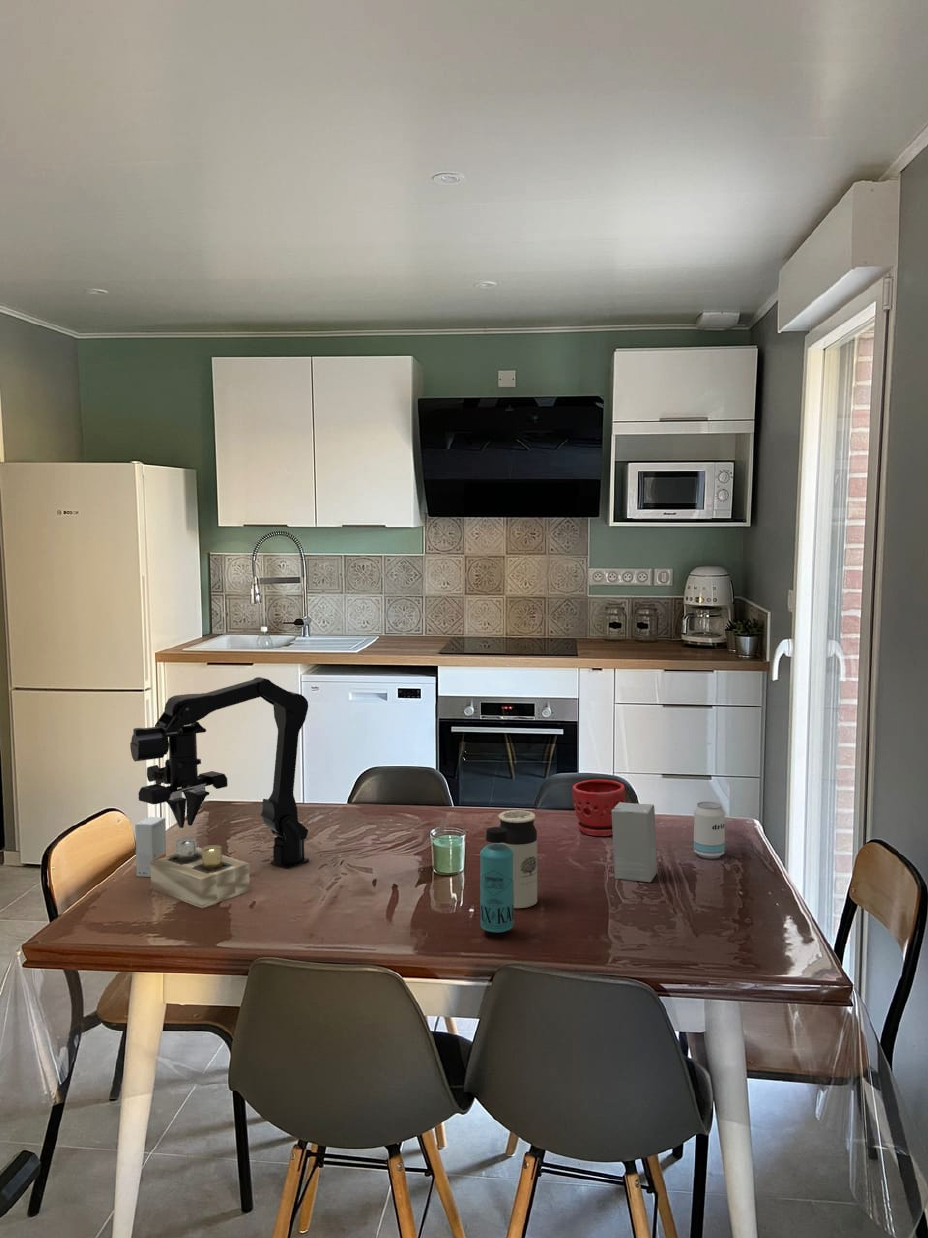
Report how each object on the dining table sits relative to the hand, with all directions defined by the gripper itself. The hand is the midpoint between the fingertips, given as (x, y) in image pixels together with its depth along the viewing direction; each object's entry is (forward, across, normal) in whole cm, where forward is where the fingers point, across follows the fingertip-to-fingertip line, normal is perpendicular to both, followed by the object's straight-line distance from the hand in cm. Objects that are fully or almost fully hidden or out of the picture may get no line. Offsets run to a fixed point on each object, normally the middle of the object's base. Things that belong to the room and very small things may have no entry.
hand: (185, 826), depth 199 cm
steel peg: (+9, 0, 0) cm, 9 cm away
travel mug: (+13, -35, +62) cm, 73 cm away
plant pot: (+13, -86, +52) cm, 101 cm away
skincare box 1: (+13, 0, -14) cm, 19 cm away
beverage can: (+13, -85, +82) cm, 119 cm away
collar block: (+13, 0, +4) cm, 14 cm away
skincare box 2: (+13, -62, +75) cm, 98 cm away
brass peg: (+9, 0, +9) cm, 13 cm away
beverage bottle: (+13, -20, +68) cm, 73 cm away
